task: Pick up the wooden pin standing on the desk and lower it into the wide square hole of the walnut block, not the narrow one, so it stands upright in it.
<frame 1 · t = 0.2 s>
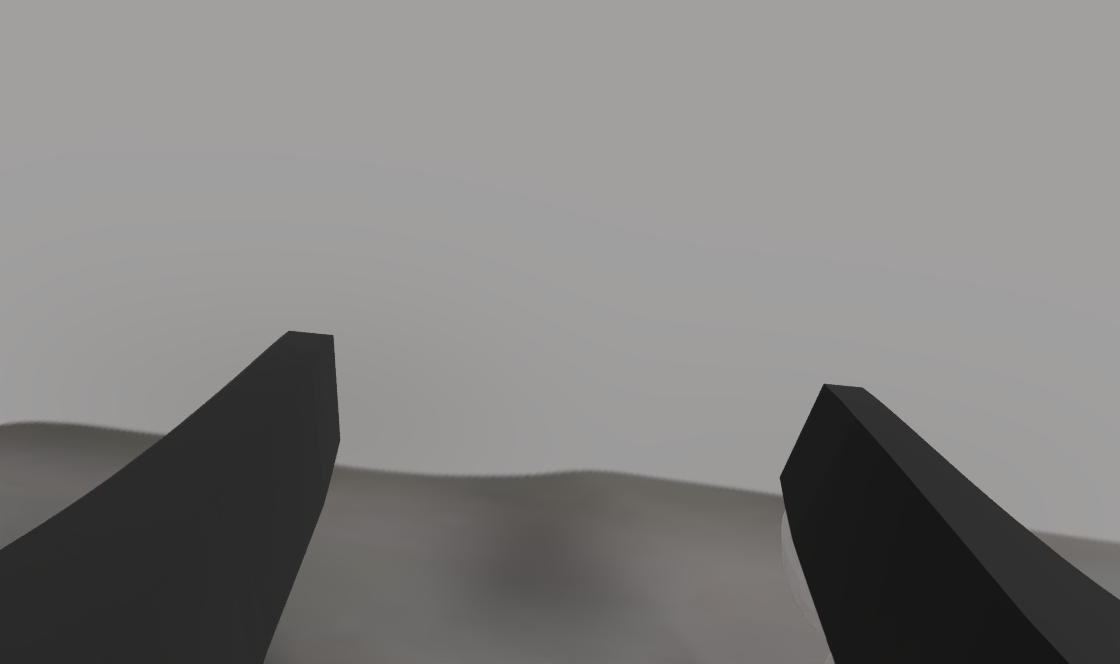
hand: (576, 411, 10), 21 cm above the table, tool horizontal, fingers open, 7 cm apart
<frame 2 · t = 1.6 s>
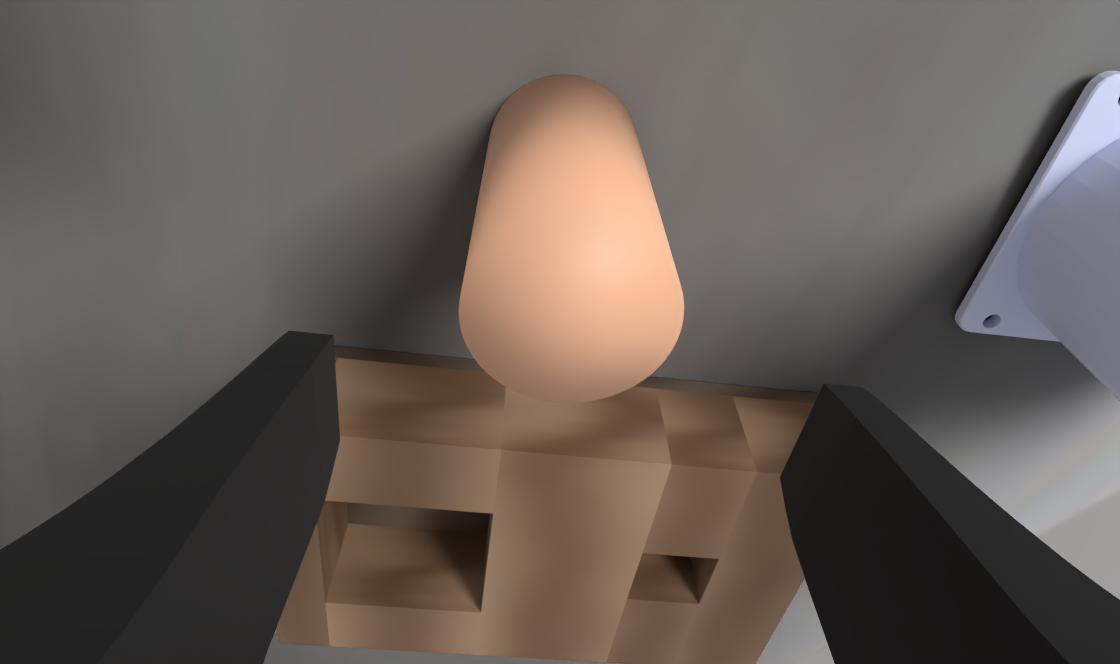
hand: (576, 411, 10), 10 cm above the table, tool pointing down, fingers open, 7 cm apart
pin: (562, 150, 19), on the table
socket block: (541, 479, 26), on the table
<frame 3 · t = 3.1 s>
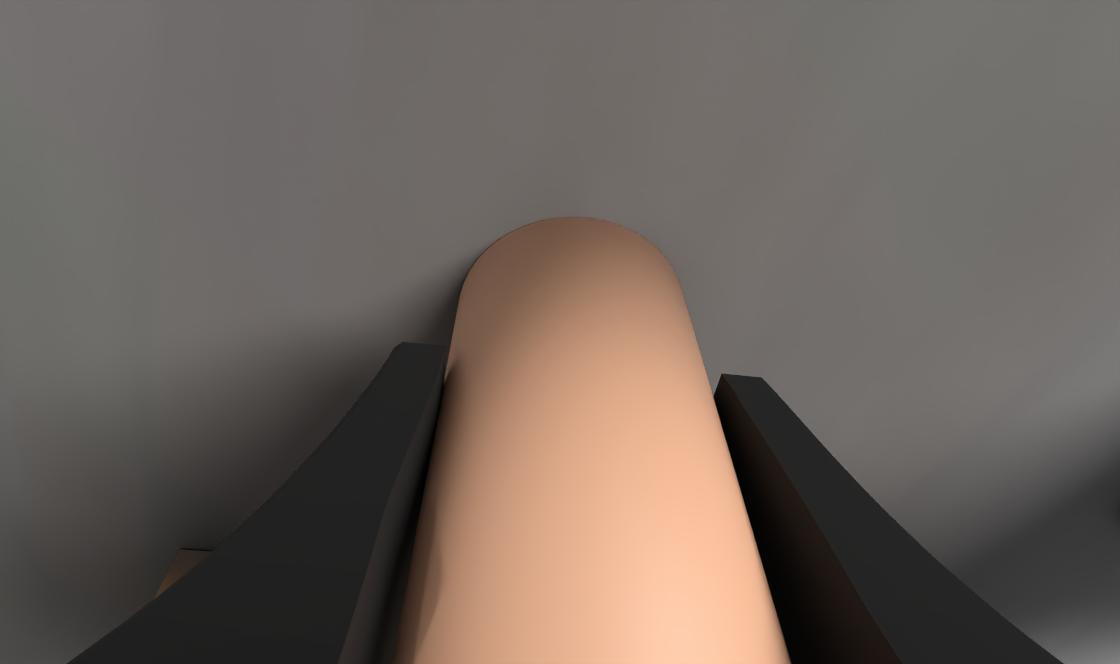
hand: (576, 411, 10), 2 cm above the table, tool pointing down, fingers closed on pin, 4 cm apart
pin: (571, 318, 12), on the table, touching gripper
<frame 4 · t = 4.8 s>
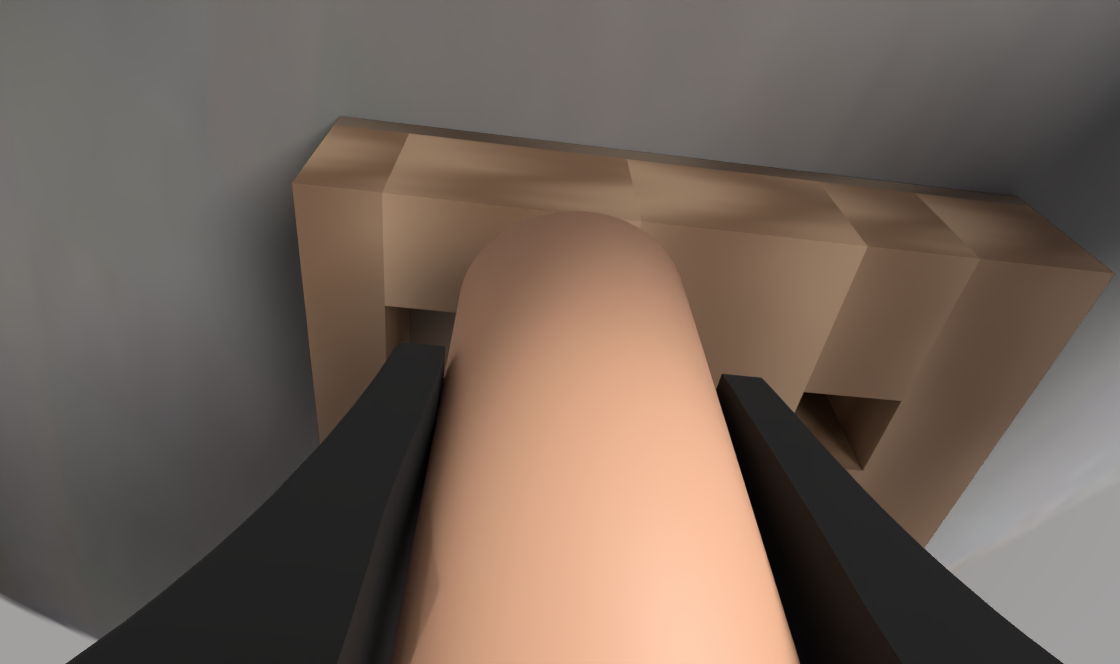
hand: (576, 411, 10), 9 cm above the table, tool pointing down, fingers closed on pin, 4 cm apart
pin: (572, 314, 12), point 7 cm above the table, touching gripper
socket block: (650, 328, 21), on the table
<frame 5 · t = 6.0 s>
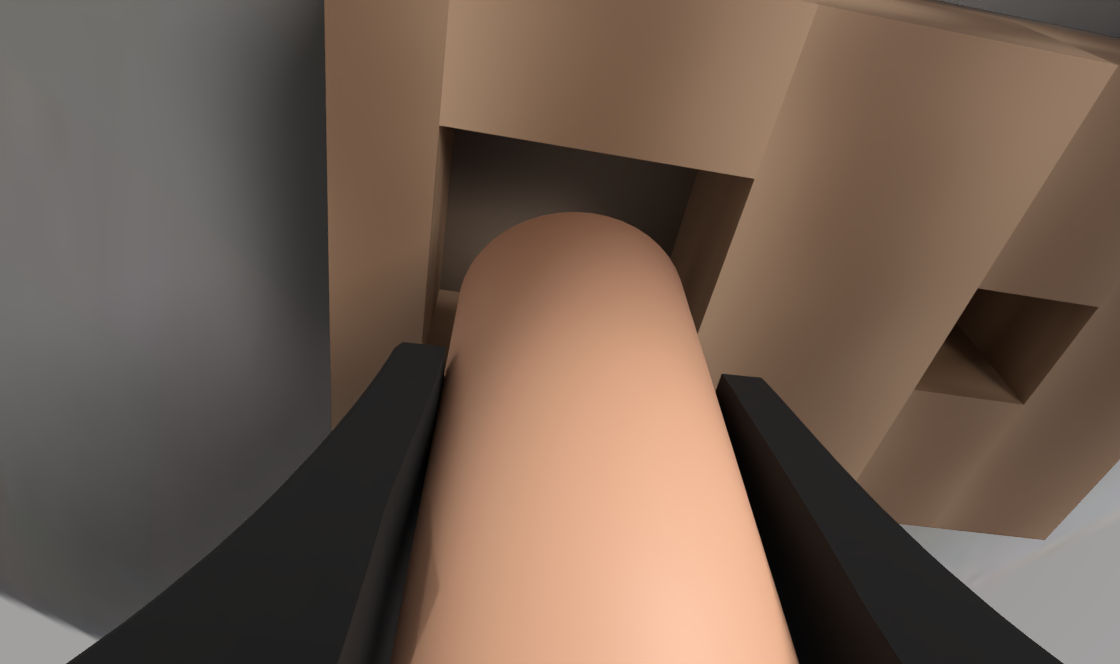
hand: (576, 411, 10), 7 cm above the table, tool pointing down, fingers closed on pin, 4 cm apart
pin: (571, 315, 12), point 5 cm above the table, touching gripper
socket block: (747, 225, 17), on the table
when the fingers open (5 cm above the table, at t = 7.0 s): pin drops 1 cm, resting on socket block.
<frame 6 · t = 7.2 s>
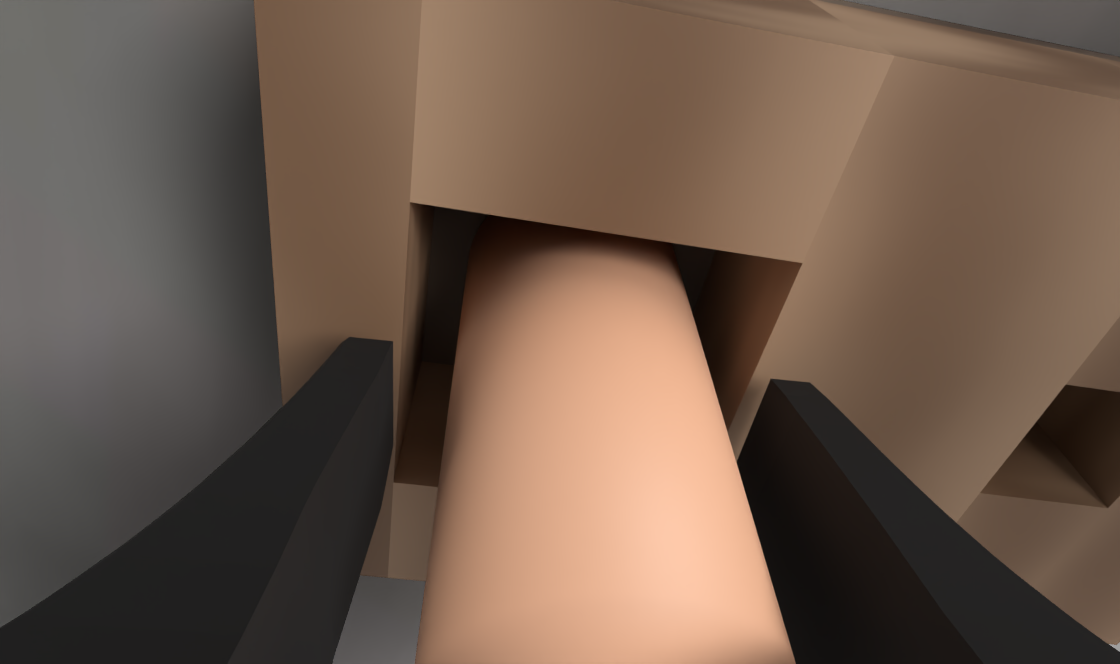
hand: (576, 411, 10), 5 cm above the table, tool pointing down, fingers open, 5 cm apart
pin: (571, 272, 13), point 1 cm above the table, touching socket block
socket block: (777, 288, 15), on the table
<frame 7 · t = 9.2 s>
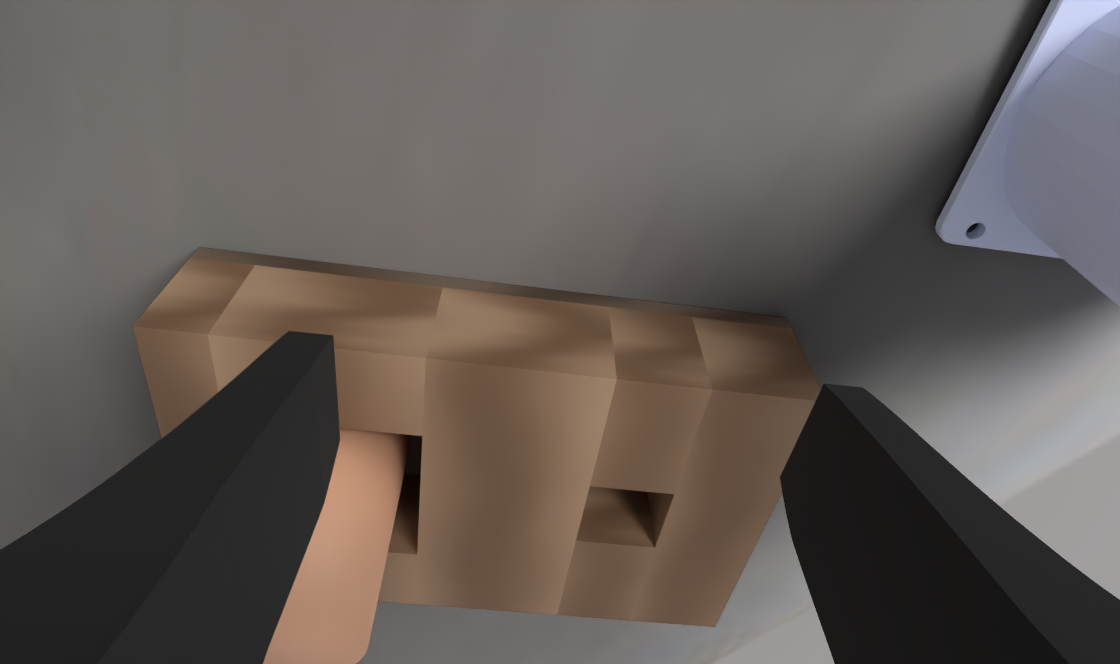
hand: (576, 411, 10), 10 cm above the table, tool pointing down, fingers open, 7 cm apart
pin: (355, 412, 23), point 1 cm above the table, touching socket block
socket block: (488, 415, 24), on the table
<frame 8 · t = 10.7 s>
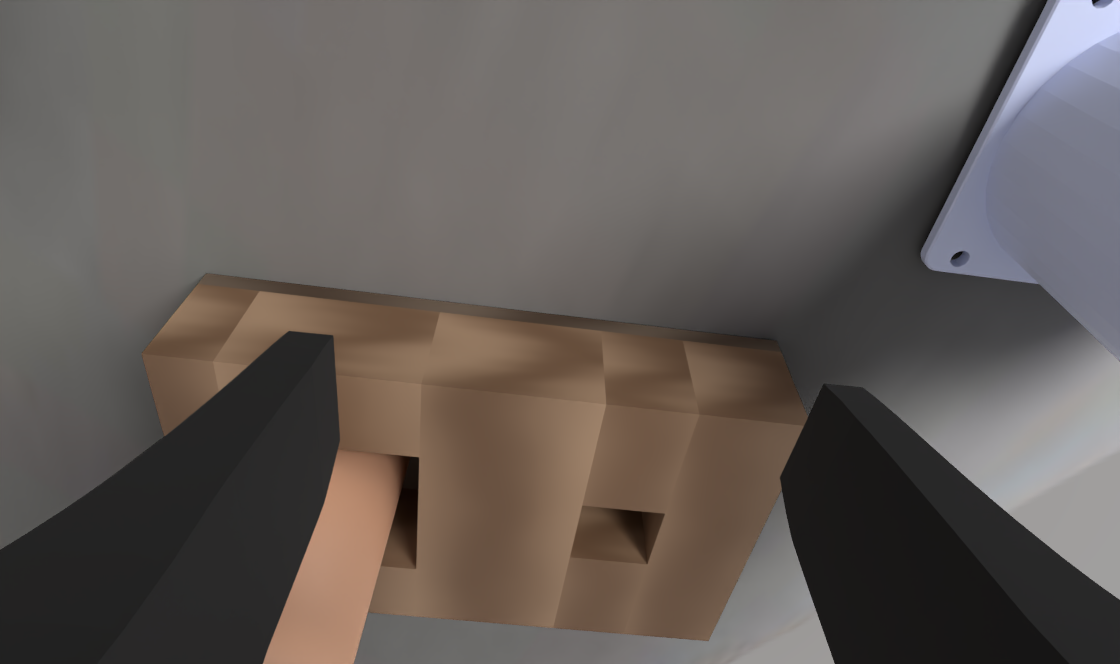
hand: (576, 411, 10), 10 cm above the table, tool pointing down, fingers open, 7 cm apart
pin: (357, 431, 24), point 1 cm above the table, touching socket block
socket block: (487, 433, 25), on the table
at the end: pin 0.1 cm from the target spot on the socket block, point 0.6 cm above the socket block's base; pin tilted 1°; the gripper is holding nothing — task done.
